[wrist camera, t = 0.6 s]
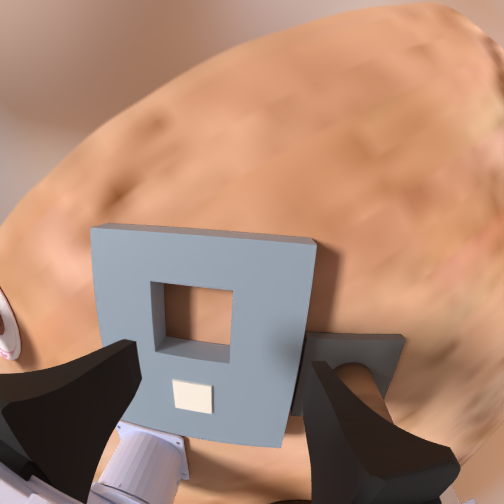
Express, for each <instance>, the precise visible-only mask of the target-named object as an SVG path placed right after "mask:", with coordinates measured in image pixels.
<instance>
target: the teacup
mask: <svg viewBox="0 0 504 504" xmlns="http://www.w3.org/2000/svg"><path fill="white" fill-rule="evenodd" d="M0 314H1V316H2V319H3V322H4V327H5V331H4V334H2V335H1V334H0V355H1V356H3V357H4V358H5V359H8V360H15V359H17V358H18V357H19V354H20V352H21V339H20V335H19V330H18V326H17V323H16V320H15V318H14V315H13V312H12V310H11V308H10V306H9V304H8V301H7V299H6V297H5V296H4V294H3V292H2V291H1V289H0Z"/></svg>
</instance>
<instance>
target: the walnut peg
mask: <svg viewBox="0 0 504 504" xmlns="http://www.w3.org/2000/svg"><path fill="white" fill-rule="evenodd" d="M333 371H334V372H335V373H336V374H337V375H338V377H339V378H340V379H341V380H342V381H343V382H344V383H345V385H346V386H347V387H348V388H349V389H350V390H351V391H352V392H353V393H354V394H355V395H356V396H357V397H358V398H359V399H360V400H361V401H363V402H364V403H365V404H366V405H367V406H368V407H369V408H371V409H372V410H373V411H375V412H376V413H377V414H379V415H380V416H381V417H383V418H384V419H386V420H387V421H389V422H390V423H392V424H394V423H393V421H392V419H391V416H390V414H389V412H388V409H387V407H386V405H385V403H384V400H383V398H382V396H381V394H380V392H379V389H378V387H377V385H376V383H375V381H374V379H373V376H372V374H371V372H370V370H369V369H368V367H367V366H365V365H363V364H361V363H357V362H350V363H345V364H342V365H340V366H337V367H336V368H334V369H333Z"/></svg>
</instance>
